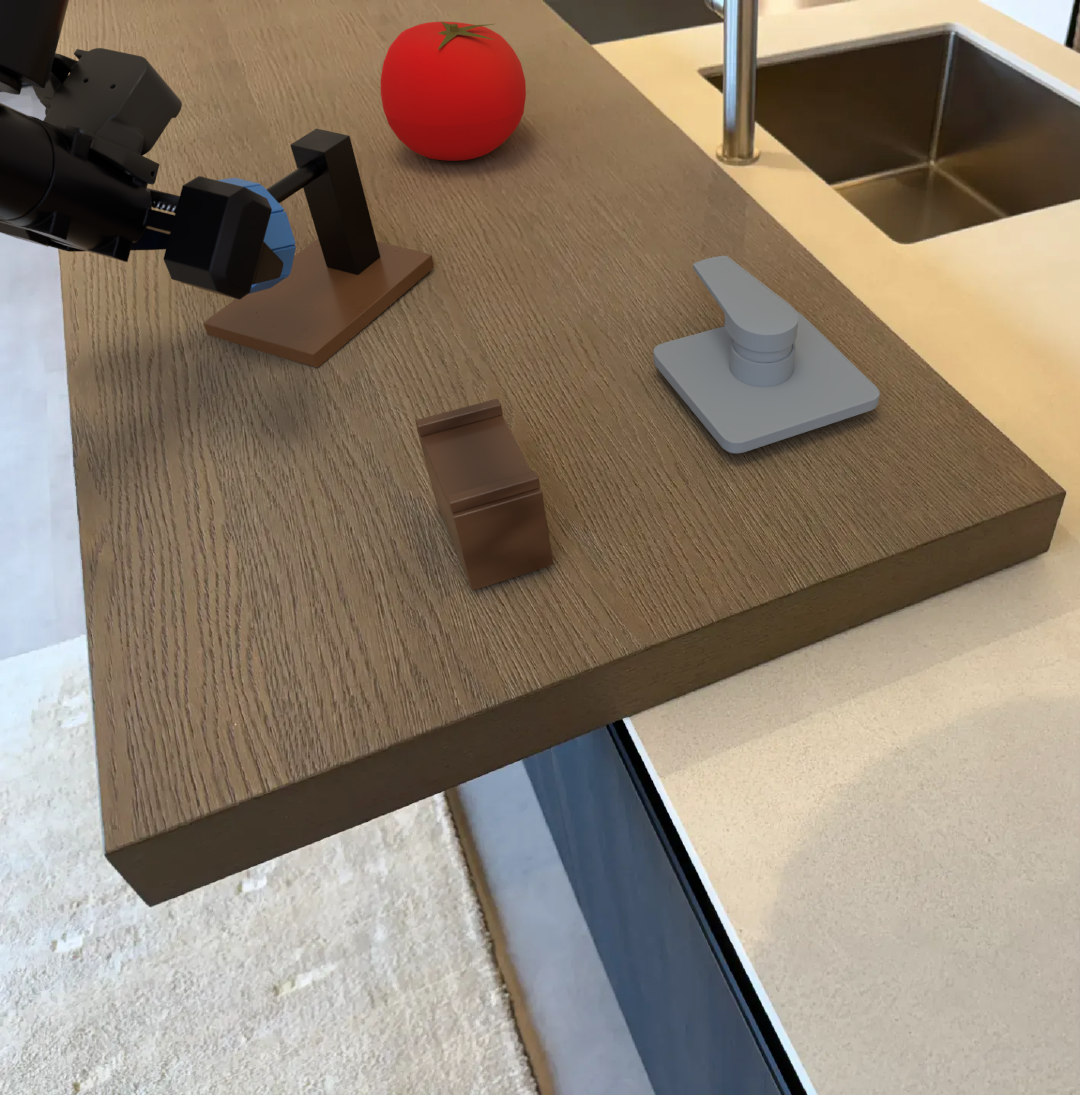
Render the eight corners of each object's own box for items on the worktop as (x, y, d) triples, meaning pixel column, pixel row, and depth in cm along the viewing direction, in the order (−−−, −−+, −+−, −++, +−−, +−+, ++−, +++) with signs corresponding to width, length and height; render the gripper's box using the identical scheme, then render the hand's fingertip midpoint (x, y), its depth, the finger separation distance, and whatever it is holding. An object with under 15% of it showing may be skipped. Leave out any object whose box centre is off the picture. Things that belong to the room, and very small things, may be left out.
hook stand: (317, 368, 75) (270, 226, 67) (207, 336, 77) (149, 196, 69) (434, 267, 85) (405, 133, 76) (333, 242, 87) (295, 109, 79)
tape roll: (268, 305, 70) (259, 196, 67) (181, 281, 72) (168, 174, 69) (299, 296, 73) (292, 191, 69) (214, 273, 75) (203, 170, 71)
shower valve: (781, 237, 78) (896, 341, 69) (776, 300, 82) (884, 406, 73) (631, 274, 73) (733, 390, 64) (633, 339, 77) (729, 457, 68)
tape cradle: (471, 591, 60) (450, 507, 55) (435, 501, 65) (413, 416, 60) (554, 565, 62) (540, 480, 57) (512, 478, 67) (496, 394, 62)
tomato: (369, 140, 100) (342, 14, 92) (497, 109, 106) (482, -12, 98) (425, 192, 93) (401, 61, 85) (558, 155, 99) (548, 30, 91)
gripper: (189, 47, 53) (371, 165, 68) (-78, -7, 57) (148, 115, 72) (133, 260, 53) (326, 330, 68) (-126, 189, 58) (108, 270, 73)
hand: (225, 255), depth 70 cm, fingers open, 9 cm apart
